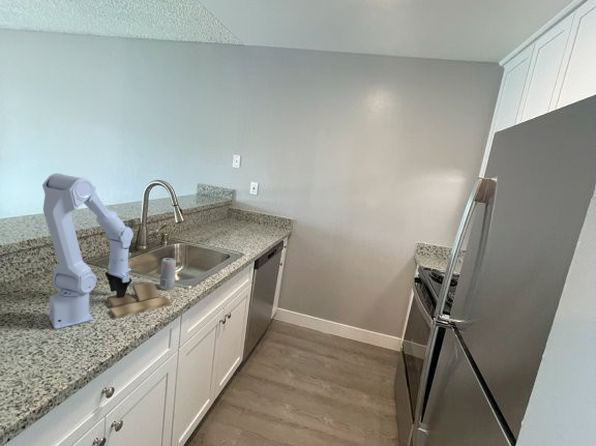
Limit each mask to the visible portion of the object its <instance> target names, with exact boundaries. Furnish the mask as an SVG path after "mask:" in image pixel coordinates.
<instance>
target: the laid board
mask: <svg viewBox="0 0 596 446" xmlns="http://www.w3.org/2000/svg"><path fill="white" fill-rule="evenodd" d="M171 305H172V301H171V300H169V298H168V297H166V296H160V297H159V298H154V299H150V300H146V301H141V302H139V301H138V302H137V301H136V303H133V304H128V305H124V306H119V307H115V308H113V307H111V308H110V309H109V312H110V313H111V314H112V315H113V317H114V318H115V319H119V318H124V317H127V316H131V315H136V314H139V313H143V312H147V311H151V310H154V309H159V308H162V307H163V308H164V307H167V306H171Z"/></svg>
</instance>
